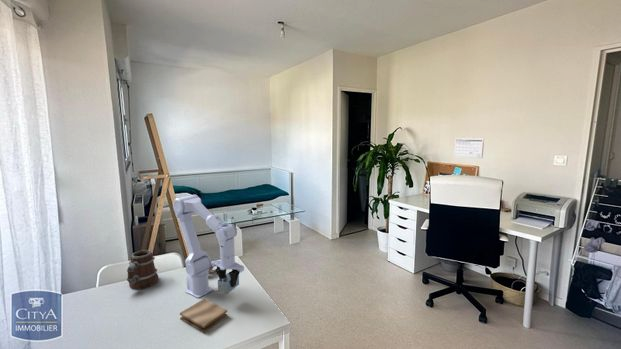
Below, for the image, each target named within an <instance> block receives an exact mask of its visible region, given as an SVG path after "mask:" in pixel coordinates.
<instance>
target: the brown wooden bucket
mask: <svg viewBox="0 0 621 349" xmlns="http://www.w3.org/2000/svg"><path fill="white" fill-rule="evenodd" d="M154 260H155V256H154V255H153V253H152V252H151V250H150V249H142V250H139V251H136V252H133V253H132V254H131V256H130V261H129V262H128V264H129V266H128V267H127V268H126V269H127V270H126V272H127V278H126V280H127V282H128V286H129V287H130V288H131V289H132V290H142V289H146V288H150V287H151V286H153V285H155V284H157V283H158V280H159V275H158V273H157V272H158V268H156V266H155V262H154Z"/></svg>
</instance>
